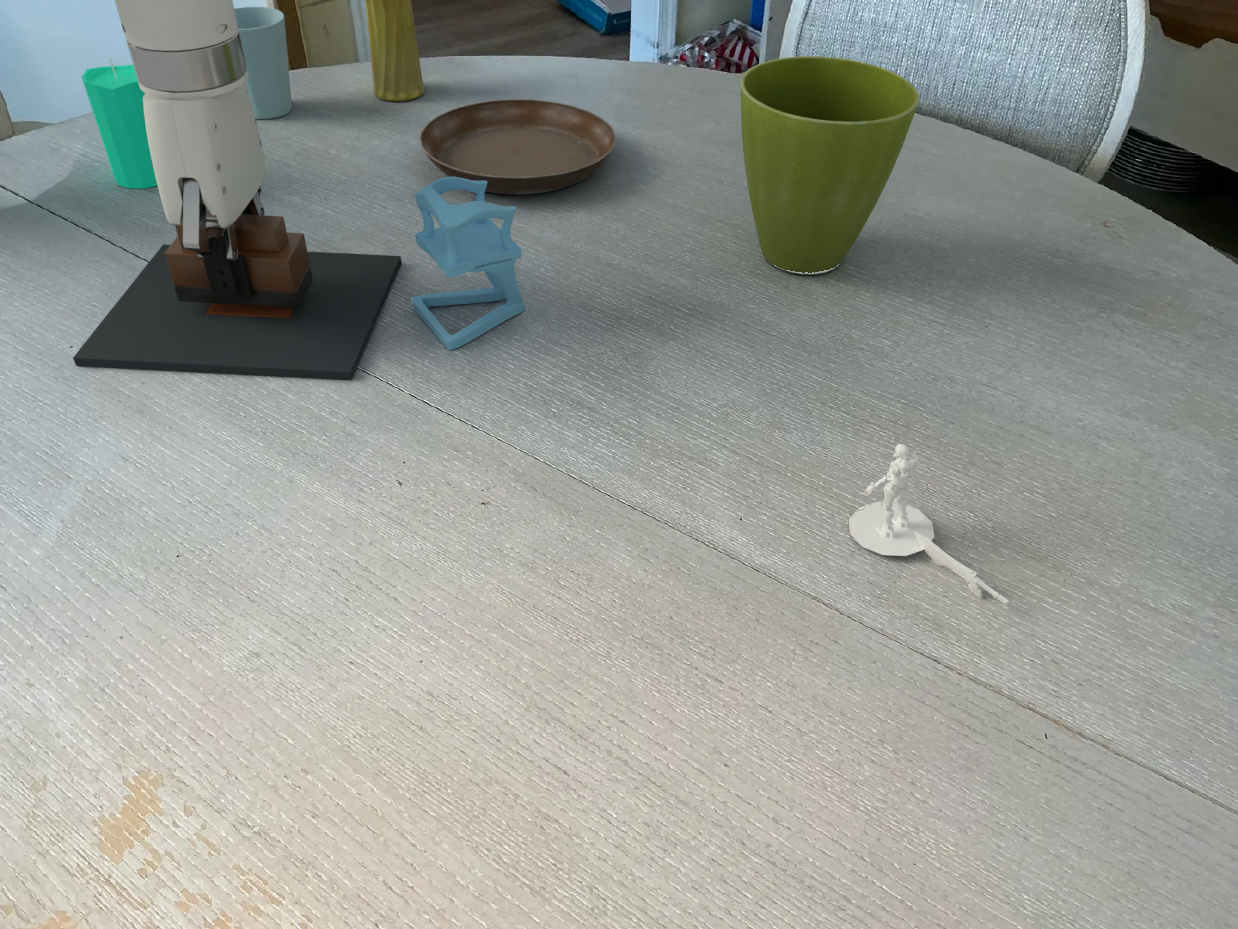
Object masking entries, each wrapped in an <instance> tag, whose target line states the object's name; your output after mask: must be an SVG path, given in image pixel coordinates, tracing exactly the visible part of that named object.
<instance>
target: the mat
mask: <svg viewBox="0 0 1238 929" xmlns="http://www.w3.org/2000/svg"><path fill="white" fill-rule="evenodd" d="M170 245H171V244H161V246H160V248H159V249H158V250H157V251H156V252H155V254H154V255H153V257H151V258H150V260H149V261H148V263H147V264H146V265H145V267H144V268H143V269H142V270H141V271H140V273H139V274H138V275H137V276H136V278H135V279H134V280H133V281H132V283H131V284H130V285H129V286H128V287H127V289H126V291H125V292H124V293H123V294H122V296H121V297H120V298H119V299H118V301H117V302H116V303H115V304H114V305H113V307H112V308H111V309H110V310H109V312H108V313H107V314H106V316H105V317H104V318H103V319H102V321H101V322H100V323H99V324H98V326H97V327H95V329H94V331H93V332H92V333H91V334H90V335H89V337H88V338H87V339H86V341H85V342H84V343H83V344H82V345H81V347H80V348H79V349H78V351H77V352H76V353H75V354H74V356H73V357H72V360H73V362H74V365H75V366H76V367H93V368H94V367H95V368H111V369H112V368H114V369H115V368H116V369H134V370H151V371H152V370H154V371H172V372H190V373H191V372H192V373H209V374H230V375H248V376H249V375H251V376H269V377H285V378H286V377H289V378H308V379H309V378H310V379H327V380H347V381H352V380H353V379H354V376H355V374H356V372H357V369H358V367H359V365H360V362H361V360H362V357H363V355H364V352H365V350H366V348H367V346H368V344H369V341H370V338H371V337H372V334H373V331H374V329H375V327H376V324H377V322H378V320H379V318H380V315H381V313H382V310H383V308H384V306H385V303H386V300H387V299H388V297H389V294H390V292H391V289H392V287H393V285H394V282H395V280H396V279H397V278H396V277H397V275H398V273H399V271H400V269H401V267H402V266H401V265H402V256H401V255H387V254H370V253H369V254H367V253H348V252H346V253H345V252H329V251H328V252H327V251H308V250H307V252H308V257H309V262H310V267H311V272H312V277H313V281H312V283H311V285H310V287H309V289H308V291H307V292H306V294H305V296H304V298H303V300H302V302H301V304H300V305H299V307H298V308H291V307H273V306H255V305H237V304H219V303H201V302H183V301H178V297H177V294H176V291H175V288H174V284H173V281H172V277H171V274H170V271H169V267H168V264H167V261H166V257H165V252H166V251H167V249H168V248H169V247H170Z"/></svg>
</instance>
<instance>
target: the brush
mask: <svg viewBox="0 0 1238 929" xmlns="http://www.w3.org/2000/svg"><path fill="white" fill-rule="evenodd" d="M206 217H211V218H217V216H216V215H212V214H211V213H207V212H206ZM234 224H235V231H236V239H237V246H238V254H240V255H244V257H245V261H246V265H247V269H248V273H249V277H250V281H251V285H252V289H253V293H254V296H253V298H252V299H251V300H250V301H235V300H218V299H215V298H214V297H213V295H212V291H211V288H210V284H209V280H208V277H207V273H206V269H205V266H204V262H203V260H201V259H200V258H199V256H198V253H196V252H195V251H191V250H187V249H185V248H184V246H183V223H182V224H180V225H179V226H174V227H175V230H176V233H177V236H176V238H175V239H174V240H173V241H172V242H171V244H169V245H170V247H169V248H168V249H167V251H166V252H165V257H166V261H167V264H168V267H169V271H170V274H171V277H172V281H173V284H174V288H175V291H176V294H177V297H178V301H183V302H201V303H219V304H237V305H255V306H273V307H291V308H298V307H299V305H300V304H301V302H302V300H303V298H304V296H305V294H306V292H307V291H308V289H309V287H310V285H311V283H312V281H313V277H312V272H311V267H310V262H309V257H308V252H309V251H308V248H307V242H306V237H305V233H302V232H288V231H287V226H286V222H285V218H284V216H281V215H266V214H265V215H246V214H241V215H240V216H239V217H238V218H237V220H236V221H235V222H234ZM207 230H208V235H209V236H210V237H217V238H219V239H220V240H222V241H223V242H224V238H223V231H222V230H223V229H207ZM307 251H308V252H307Z"/></svg>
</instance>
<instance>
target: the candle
mask: <svg viewBox="0 0 1238 929" xmlns="http://www.w3.org/2000/svg"><path fill="white" fill-rule="evenodd" d="M108 60H109V63H110V65H108V66H97V67H91V68H86V69H85V71H84V72H83V74H82V75H81V80H82V83H83V87H84V89H85V92H86V96H87V98H88V102H89V105H90V107H91V110H92V114H93V116H94V120H95V123H96V126H97V130H98V132H99V135H100V138H101V141H102V144H103V148H104V150H105V153H106V156H107V159H108V162H109V165H110V169H111V172H112V174H113V177H114V178H113V179H114V180H115V183H116V184H117V186H120V187H123V188H126V189H139V190H140V189H141V190H142V189H143V190H144V189H148V188H153V187H158V185H157V181H156V177H155V172H154V168H153V163H152V158H151V154H150V149H149V144H148V138H147V132H146V124H145V117H144V106H143V96H144V95H145V93H144V92H143V91H142V90H141V89H140V87H139V83H138V79H137V76H136V73H135V69H134V66H133V64H123V65H114V64H113V61H112V57H108Z"/></svg>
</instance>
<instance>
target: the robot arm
mask: <svg viewBox="0 0 1238 929" xmlns="http://www.w3.org/2000/svg"><path fill="white" fill-rule="evenodd" d="M114 2H115V6H116V9H117V10H116V11H117V13H118V17H119V21H120V24H121V27H122V30H123V31H122V32H123V34H124V38H125V41H126V45H127V48H128V51H129V55H130V60H131V62H132V65H133V66H134V69H135V73H136V76H137V79H138V83H139V87H140V89H141V90H142V91H143V92H144V93H145V95H144V96H143V106H144V117H145V124H146V132H147V138H148V144H149V149H150V154H151V158H152V163H153V168H154V172H155V177H156V181H157V185H158V186H157V189H158V192H159V197H160V202H161V204H162V209H163V211H164V215H165V218H166V220H167V222H168V223H169V224H170V225H171V226H172V227H175V226H179V225H180V224H182V223H183V246H184V248H185V249H187V250H191V251H195V252H196V253H198V256H199V258H200V259H201V260H203V262H204V266H205V269H206V273H207V277H208V280H209V284H210V288H211V291H212V295H213V297H214V298H215V299H218V300H235V301H250V300H251V299H252V298H253V296H254V293H253V289H252V285H251V281H250V277H249V273H248V269H247V265H246V261H245V257H244V255H240V254H238V246H237V239H236V231H235V224H234V222H235V221H236V220H237V218H238V217H239V216H240V215H241V214H246V215H265V216H266V211H265V208H264V205H263V202H262V199H261V192H262V188H261V187H262V184H263V182H264V181H265V179H266V175H267V174H266V173H267V169H266V168H267V166H266V159H265V153H264V148H263V143H262V139H261V134H260V130H259V125H258V122H257V119H256V118H255V114H254V110H253V107H252V103H251V100H250V96H249V93H248V90H247V87H246V83H245V82H246V81H247V80H248V71H247V66H246V61H245V57H244V52H243V47H242V42H241V38H240V33H239V29H238V24H237V19H236V15H235V10H234V8H235V5H234V1H233V0H114ZM206 212H207V213H211V214H212V215H216V216H217V218H211V217H206ZM207 229H223V230H222V231H223V238H224V242H223V241H222V240H220V239H219V238H217V237H210V236H209V235H208V230H207Z"/></svg>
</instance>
